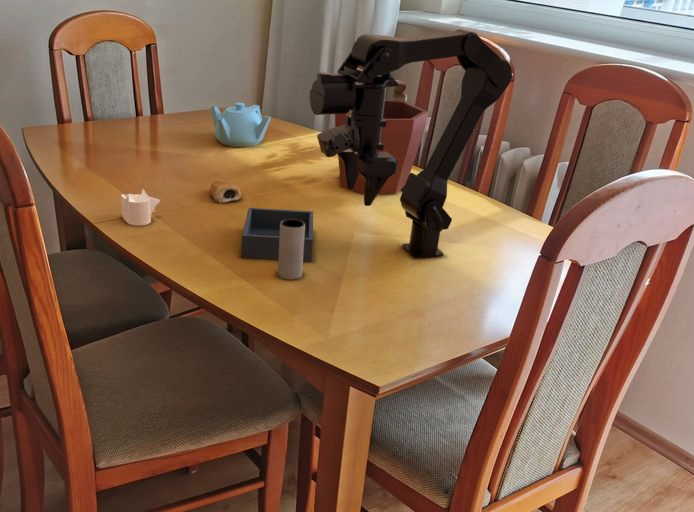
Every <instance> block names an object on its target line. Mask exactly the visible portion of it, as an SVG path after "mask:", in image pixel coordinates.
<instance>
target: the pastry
mask: <svg viewBox="0 0 694 512" xmlns="http://www.w3.org/2000/svg"><path fill="white" fill-rule="evenodd" d="M210 193H211V196H212V198H213V199H214V201H215V202H216V203H220V204H223V203H229V202H236V201H239V200H240V199H241V198H242V194H243V193H242V192H241V189H240V188H239V186H238V185H236V183H234V182H231V181H228V180H227V181H226V180H224V181H223V180H216V181H214V182H213V183H211V185H210Z"/></svg>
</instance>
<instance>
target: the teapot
mask: <svg viewBox="0 0 694 512" xmlns="http://www.w3.org/2000/svg"><path fill="white" fill-rule="evenodd" d="M209 107H210V111H211V116H212V120H213V125H214V137H215V138H216V140H218V142H219V143H220V144H222V145H223V146H227V147H233V148H249V147H250V148H251V147H254V146H257V145H259V144H260V143H261V142H262V141H263V140H264V138H265V134H266V131H267V129H268V126H269V124H270V121H271V116H268V115H265V116H263V118H262V113H261V107H260V105H259V104H252V105H251V106H249V107H248V106H246V104H245V103H244V102H235V103H234V106H228V107H226V108H225V109H224V110H223V111H222V112H221V111H220V109H219V107H218V106H217V105H210V106H209Z"/></svg>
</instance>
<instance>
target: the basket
mask: <svg viewBox="0 0 694 512" xmlns="http://www.w3.org/2000/svg"><path fill="white" fill-rule="evenodd" d="M290 218H293V219H299V220H302V221H304V222H305V237H304V252H303V262H312V261H313V260H312V259H313V247H314V246H313V245H314V211H312V210H310V211H309V210H298V209H297V210H295V209H279V208H277V209H276V208H259V207H248V209H247V213H246V216H245V221H244V225H243V230H242V235H241V258H245V259H259V260H260V259H261V260H262V259H263V260H276V261H277V260H278V259H279V237H280V222H281V221H282V220H284V219H290Z"/></svg>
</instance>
